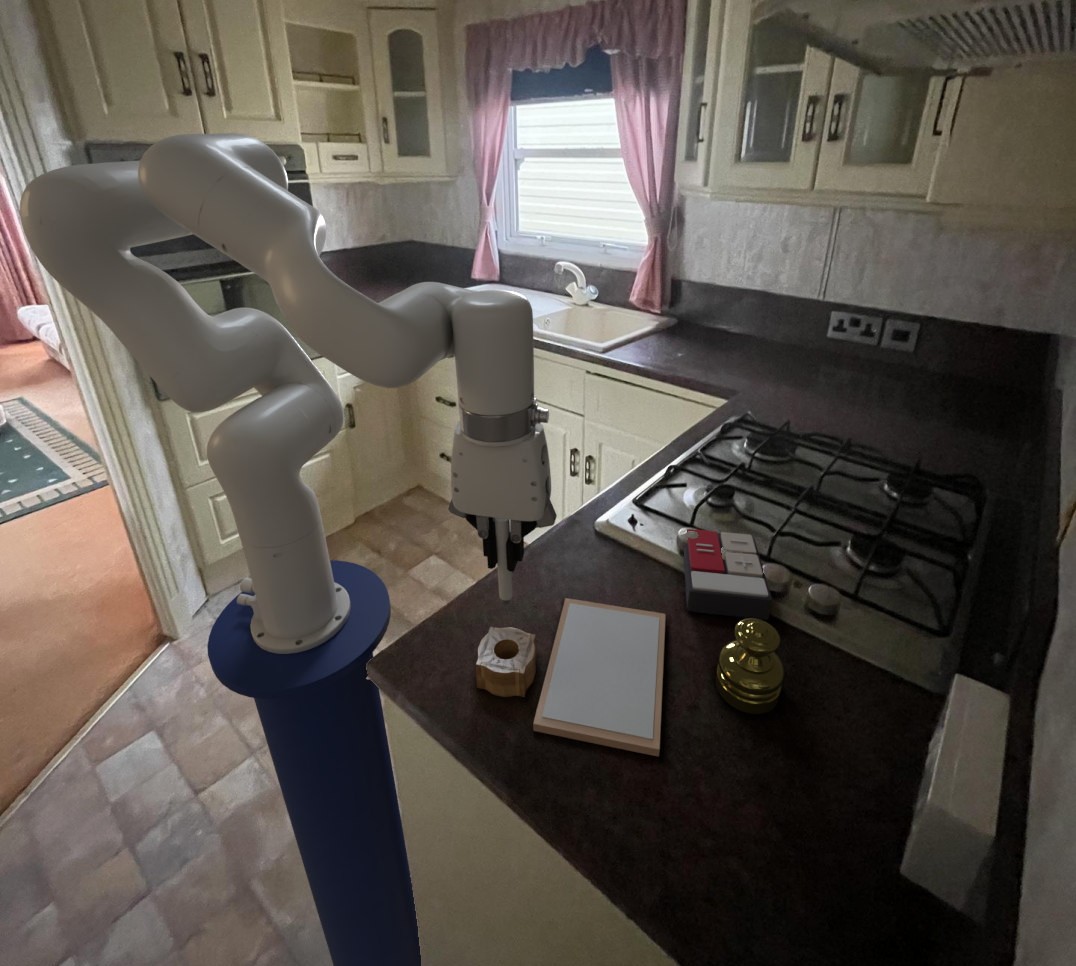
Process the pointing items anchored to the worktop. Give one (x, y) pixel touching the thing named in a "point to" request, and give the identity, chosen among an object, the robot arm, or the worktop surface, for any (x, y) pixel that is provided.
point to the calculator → (725, 576)
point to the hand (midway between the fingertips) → (504, 561)
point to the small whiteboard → (605, 677)
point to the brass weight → (751, 668)
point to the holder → (506, 662)
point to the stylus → (503, 560)
